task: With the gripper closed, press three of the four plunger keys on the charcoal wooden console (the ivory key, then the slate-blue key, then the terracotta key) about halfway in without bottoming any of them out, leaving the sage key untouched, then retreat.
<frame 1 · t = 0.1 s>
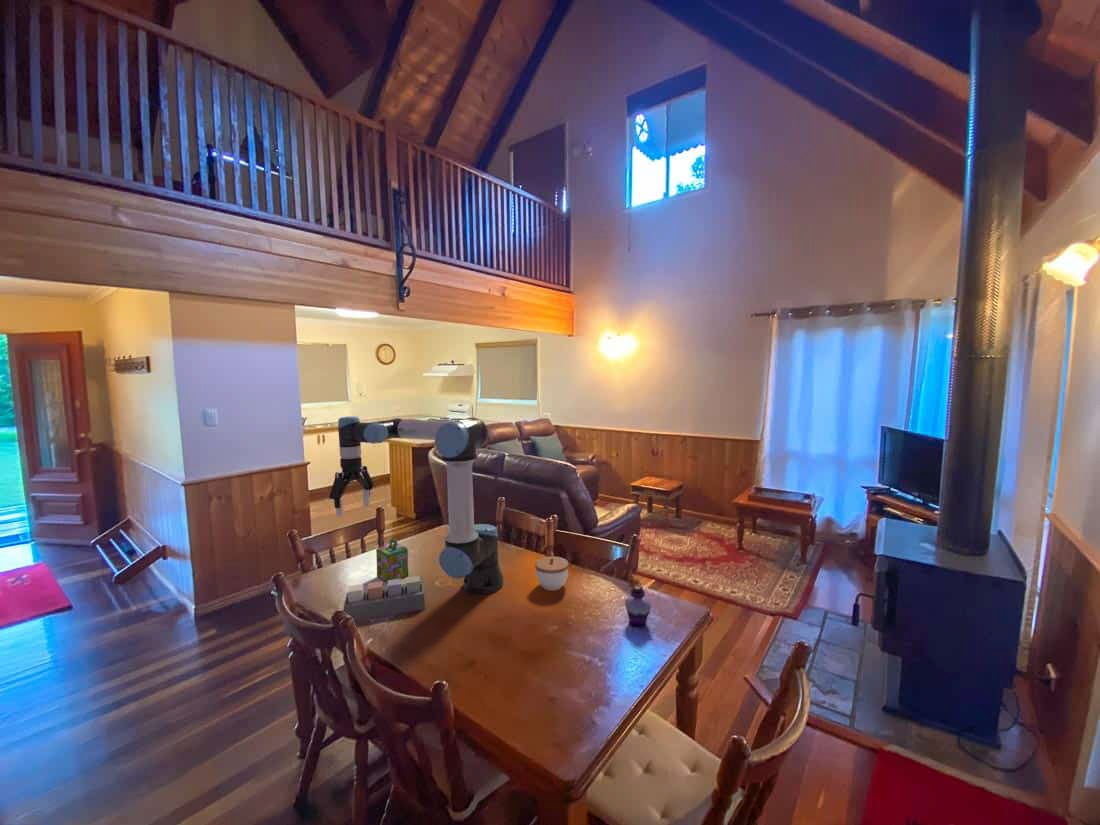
hand: (353, 510, 178), 28 cm above the table, fingers open, 13 cm apart
lidded bowl: (552, 586, 173), on the table
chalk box: (393, 576, 183), on the table
terracotta key: (375, 592, 156), point 6 cm above the table, slide at 0.0 cm
sage key: (413, 586, 160), point 6 cm above the table, slide at 0.0 cm
console: (386, 608, 158), on the table
slate key: (394, 589, 158), point 6 cm above the table, slide at 0.0 cm
ivory key: (356, 595, 154), point 6 cm above the table, slide at 0.0 cm
potion bottle: (637, 623, 147), on the table
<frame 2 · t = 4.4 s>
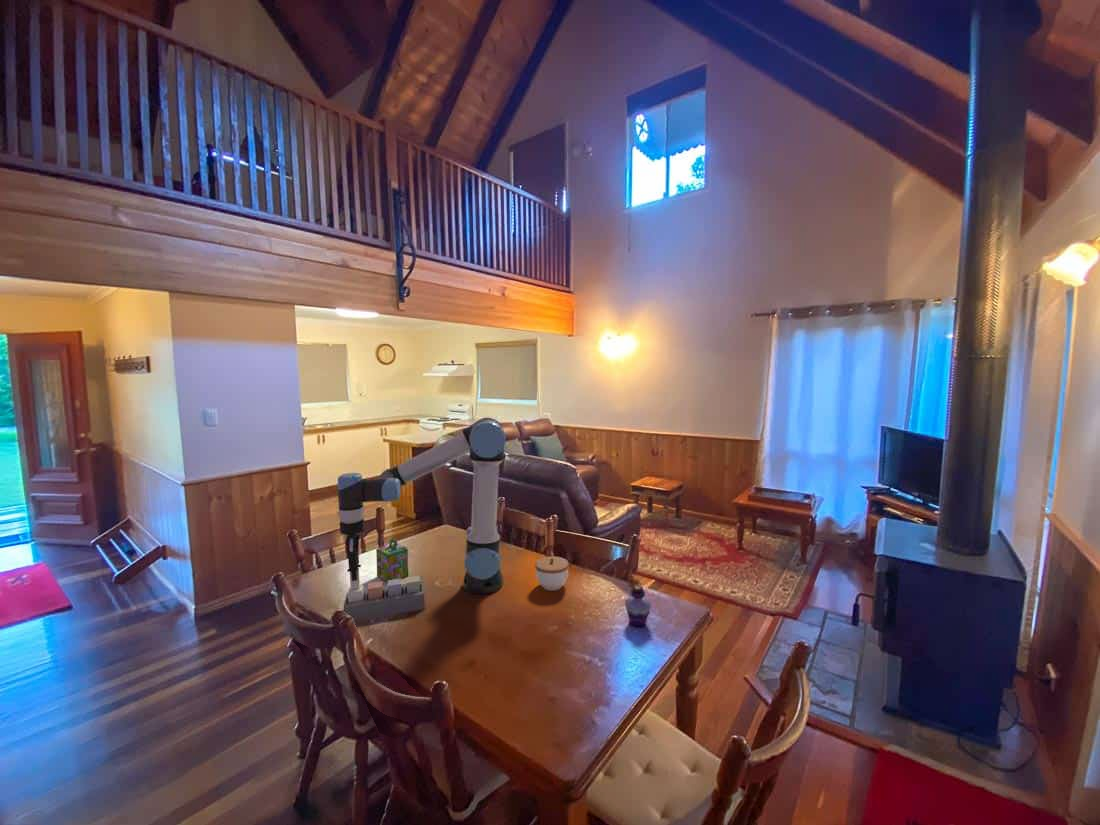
hand: (355, 587, 154), 9 cm above the table, fingers closed
ivory key: (356, 596, 154), point 6 cm above the table, slide at 0.3 cm, touching gripper
everything else where it was.
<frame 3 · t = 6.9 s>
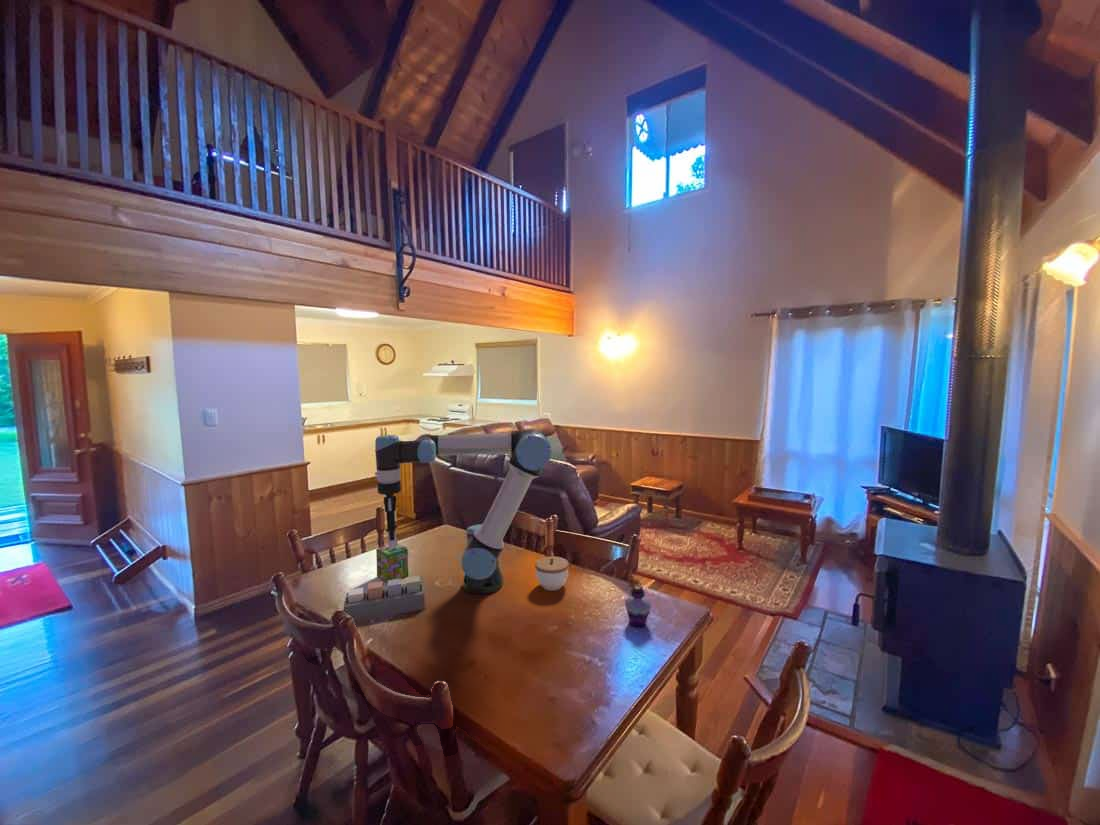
hand: (392, 548, 157), 21 cm above the table, fingers closed
ivory key: (356, 599, 155), point 5 cm above the table, slide at 1.3 cm
everything else where it was.
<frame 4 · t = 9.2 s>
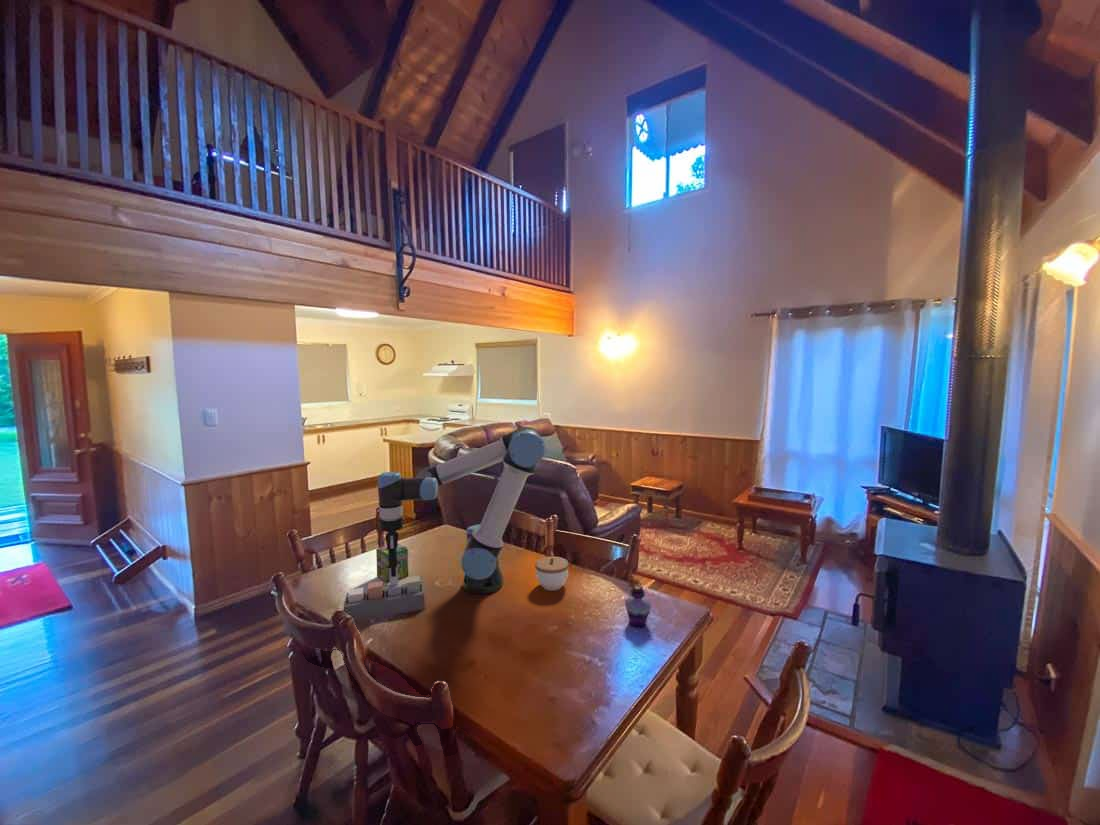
hand: (394, 583, 158), 8 cm above the table, fingers closed
slate key: (394, 592, 158), point 5 cm above the table, slide at 0.9 cm, touching gripper
everything else where it was.
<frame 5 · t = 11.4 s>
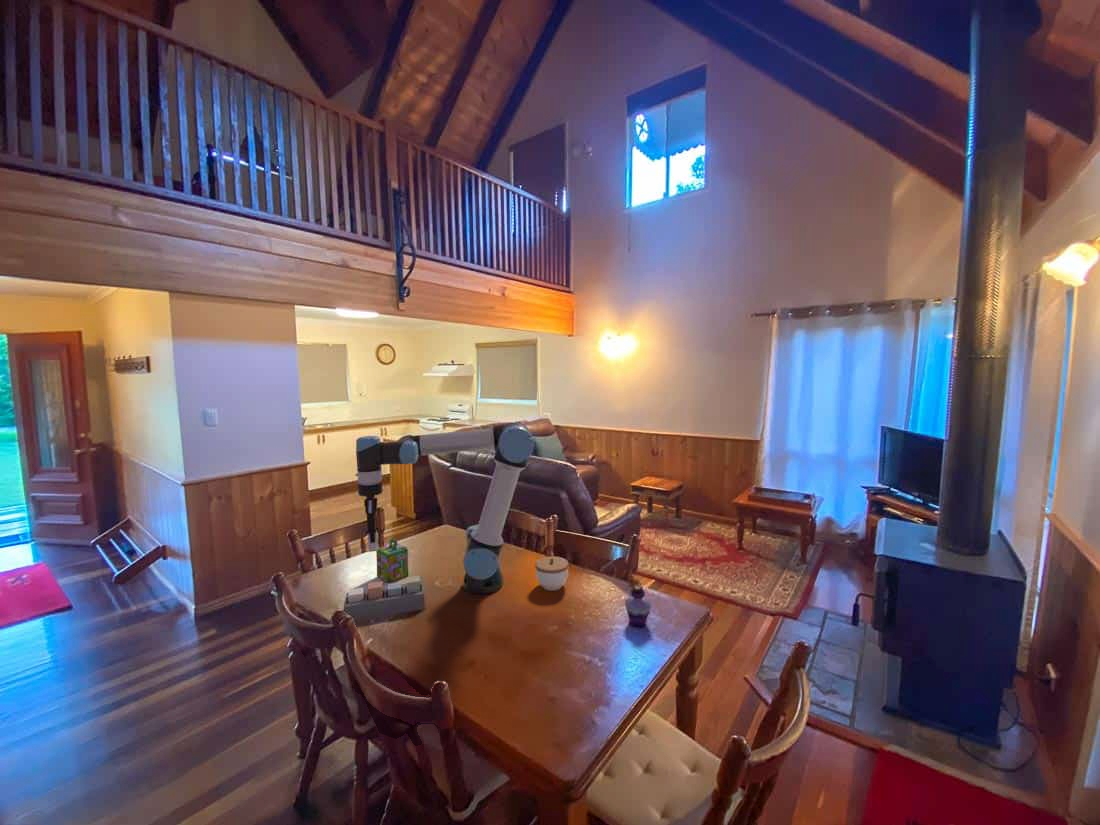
hand: (373, 550, 155), 21 cm above the table, fingers closed
slate key: (394, 593, 158), point 5 cm above the table, slide at 1.3 cm
everything else where it was.
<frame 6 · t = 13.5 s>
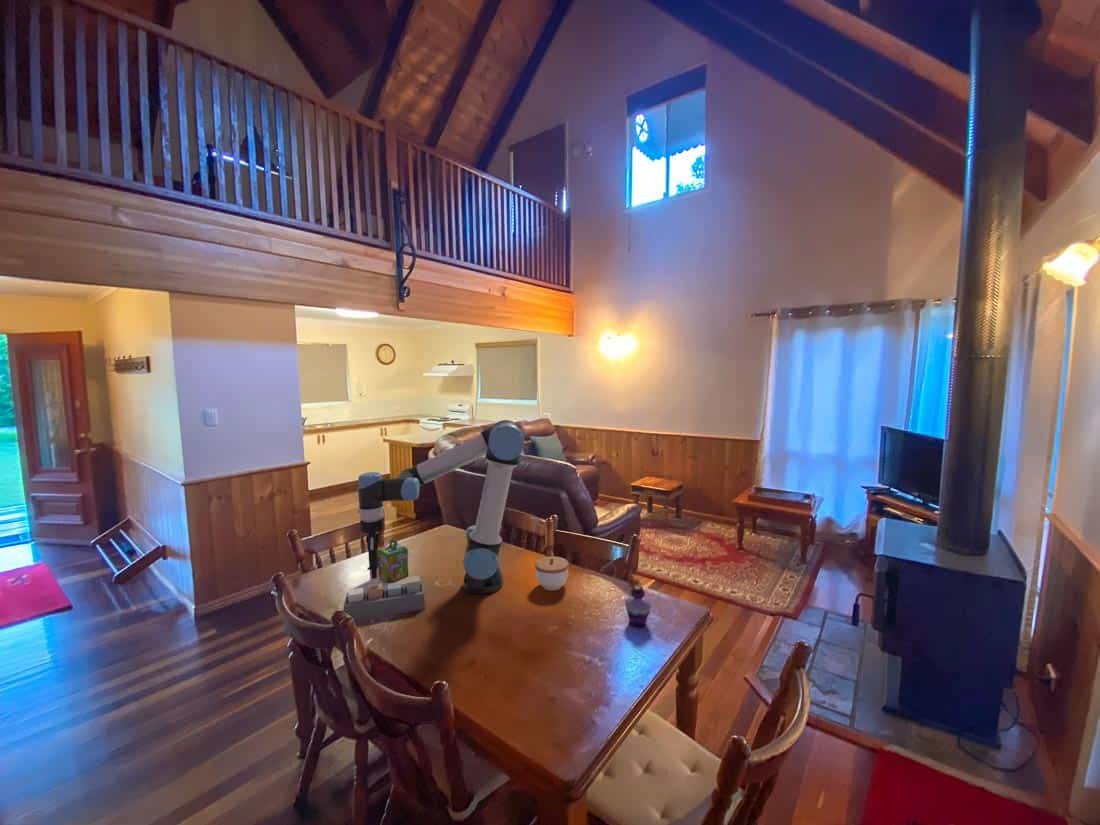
hand: (374, 585, 156), 9 cm above the table, fingers closed
terracotta key: (375, 594, 156), point 6 cm above the table, slide at 0.6 cm, touching gripper
everything else where it was.
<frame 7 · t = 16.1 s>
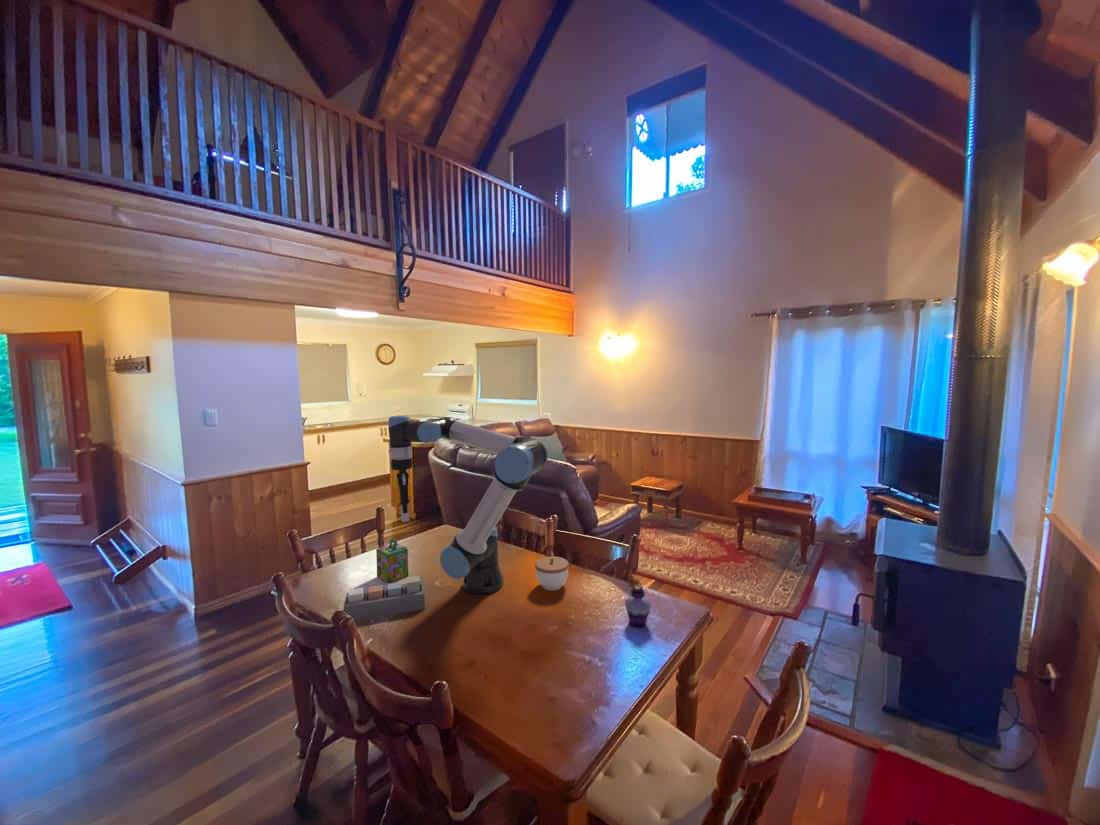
hand: (405, 520, 169), 27 cm above the table, fingers closed
terracotta key: (375, 596, 157), point 5 cm above the table, slide at 1.3 cm
everything else where it was.
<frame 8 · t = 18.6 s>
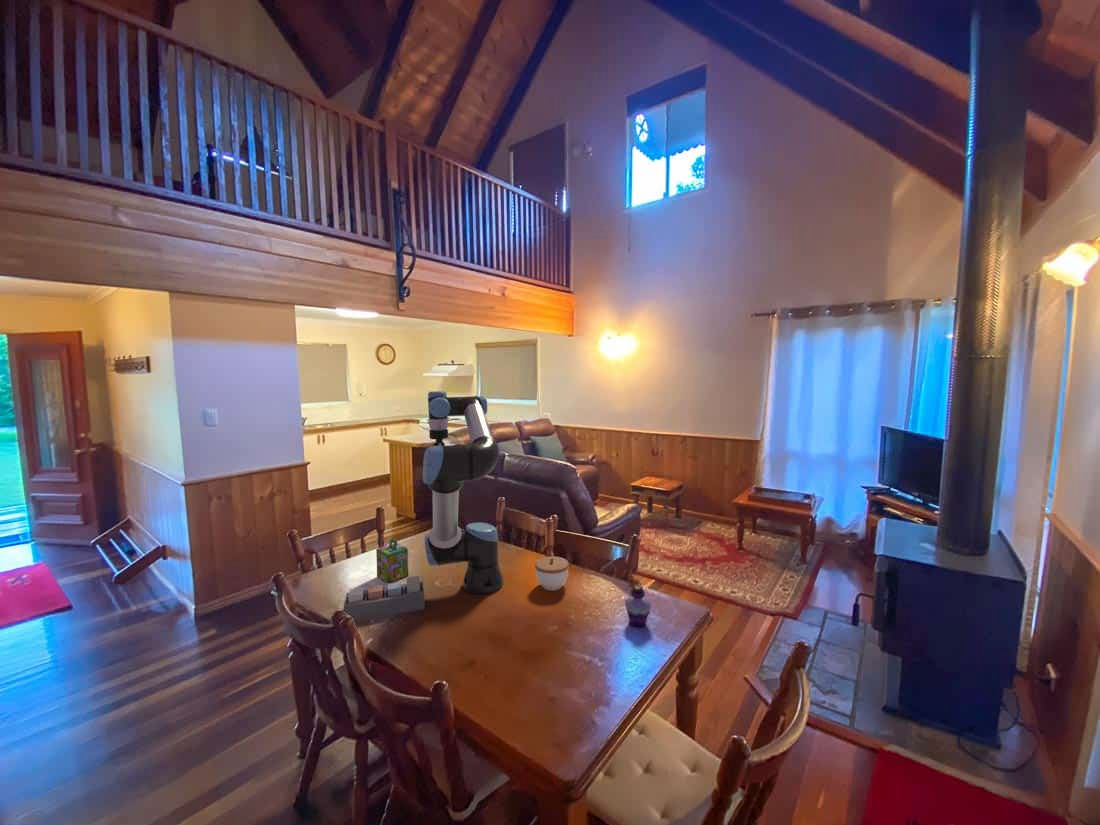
hand: (440, 485, 190), 34 cm above the table, fingers closed
nothing on the table moved.
at the end: ivory key slide at 1.3 cm; slate key slide at 1.3 cm; terracotta key slide at 1.3 cm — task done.
